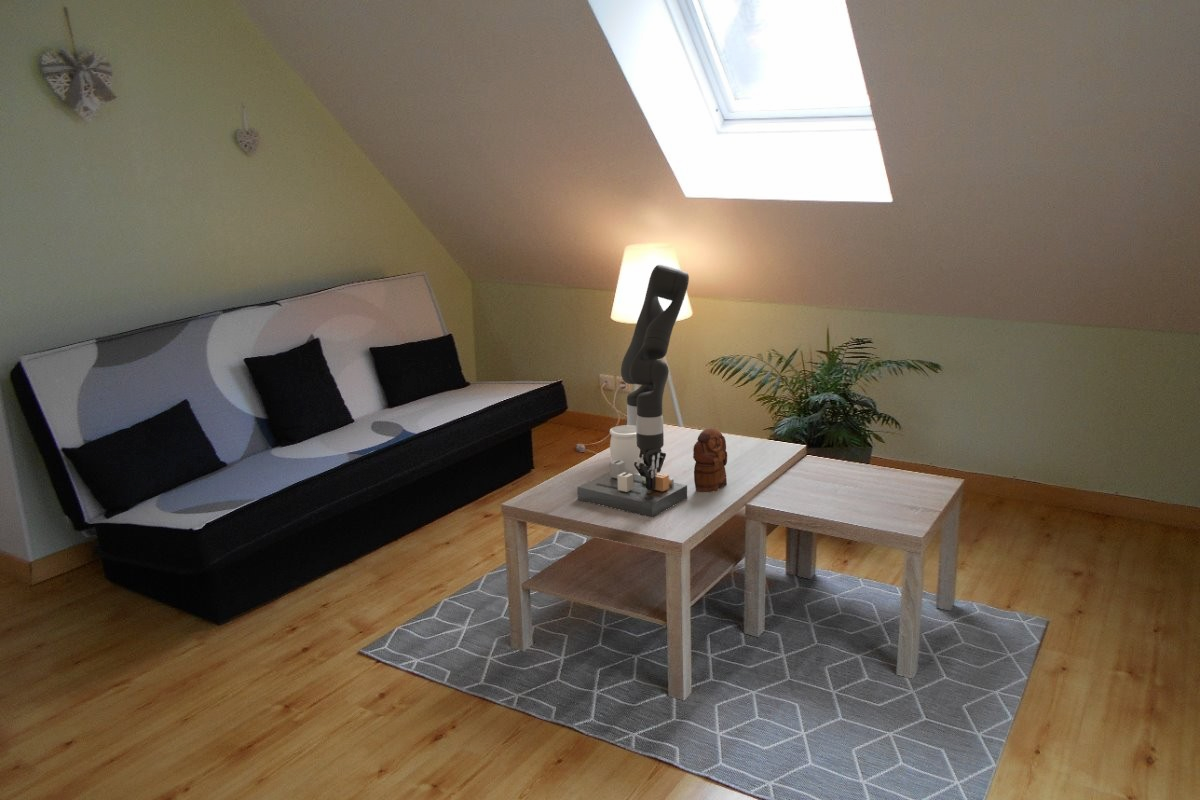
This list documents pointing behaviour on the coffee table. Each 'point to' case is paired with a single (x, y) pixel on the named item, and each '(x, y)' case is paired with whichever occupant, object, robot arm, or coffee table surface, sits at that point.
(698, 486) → the wooden figurine
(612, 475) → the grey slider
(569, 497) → the coffee table surface
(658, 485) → the tan box with strip
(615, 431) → the jar
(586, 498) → the panel
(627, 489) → the ivory slider
